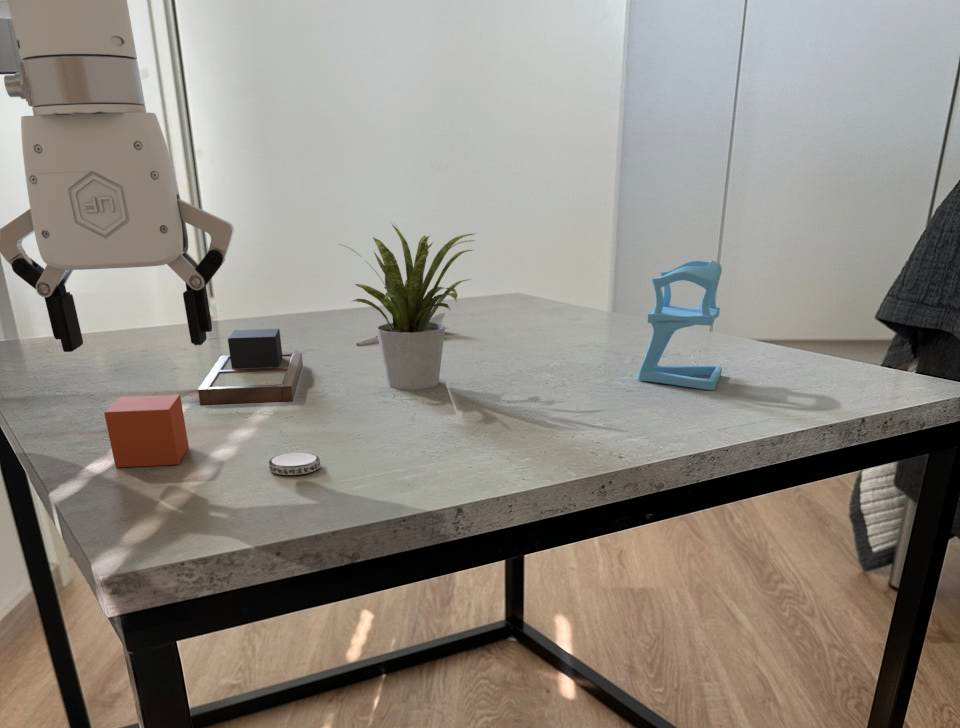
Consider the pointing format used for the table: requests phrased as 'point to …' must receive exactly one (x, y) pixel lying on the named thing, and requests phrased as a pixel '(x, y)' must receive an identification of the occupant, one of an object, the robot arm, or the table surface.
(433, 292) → the house plant
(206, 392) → the frame
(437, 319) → the toy airplane
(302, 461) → the white round disc
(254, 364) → the black block
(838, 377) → the table surface
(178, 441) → the terracotta cube
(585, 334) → the table surface
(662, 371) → the chair
